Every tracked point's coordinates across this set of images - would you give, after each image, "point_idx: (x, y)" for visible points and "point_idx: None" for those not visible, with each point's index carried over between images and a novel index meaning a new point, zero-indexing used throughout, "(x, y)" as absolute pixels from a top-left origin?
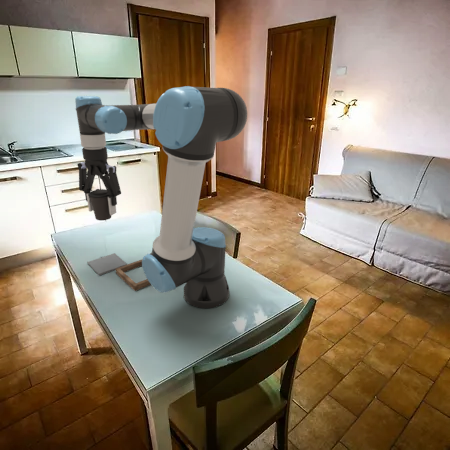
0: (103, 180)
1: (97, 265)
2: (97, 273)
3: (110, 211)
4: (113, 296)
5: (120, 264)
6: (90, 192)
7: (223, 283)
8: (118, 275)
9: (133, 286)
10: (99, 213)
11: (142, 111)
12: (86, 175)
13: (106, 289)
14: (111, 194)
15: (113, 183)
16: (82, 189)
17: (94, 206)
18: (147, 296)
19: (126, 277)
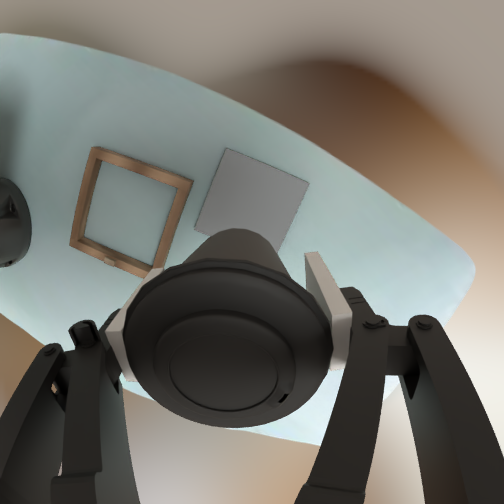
0: (82, 455)
1: (266, 182)
2: (237, 152)
3: (148, 277)
4: (126, 103)
5: (209, 218)
6: (308, 333)
7: None
8: (179, 175)
9: (98, 148)
10: (210, 241)
11: None
12: (423, 475)
13: (161, 112)
14: (77, 350)
15: (4, 414)
16: (407, 331)
17: (232, 246)
18: (67, 148)
19: (132, 164)
